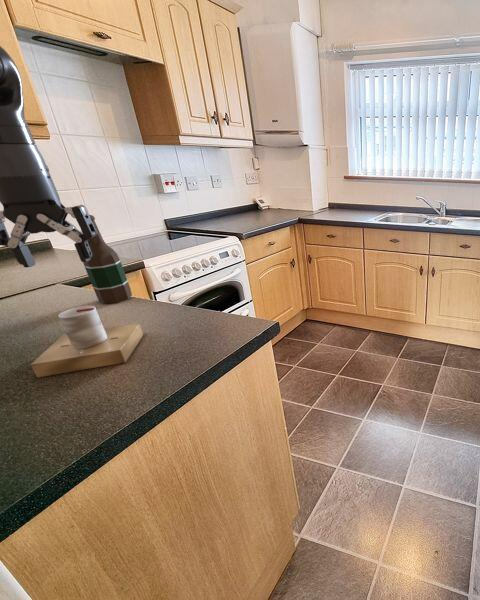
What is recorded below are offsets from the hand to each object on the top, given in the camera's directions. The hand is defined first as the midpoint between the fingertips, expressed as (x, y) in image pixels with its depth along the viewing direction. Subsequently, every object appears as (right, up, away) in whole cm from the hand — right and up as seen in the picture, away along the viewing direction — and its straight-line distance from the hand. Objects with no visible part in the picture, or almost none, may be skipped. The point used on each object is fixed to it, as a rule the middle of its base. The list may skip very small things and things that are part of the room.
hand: (59, 263), depth 64 cm
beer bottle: (-18, -7, +34) cm, 39 cm away
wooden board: (+1, -18, +7) cm, 20 cm away
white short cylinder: (+1, -16, +6) cm, 17 cm away
